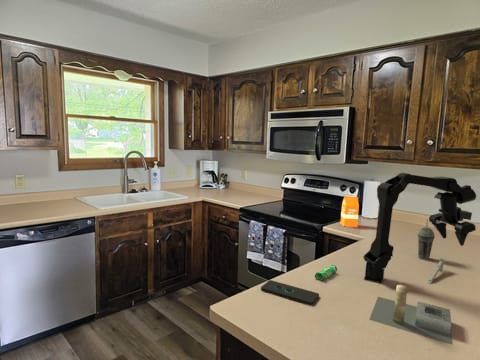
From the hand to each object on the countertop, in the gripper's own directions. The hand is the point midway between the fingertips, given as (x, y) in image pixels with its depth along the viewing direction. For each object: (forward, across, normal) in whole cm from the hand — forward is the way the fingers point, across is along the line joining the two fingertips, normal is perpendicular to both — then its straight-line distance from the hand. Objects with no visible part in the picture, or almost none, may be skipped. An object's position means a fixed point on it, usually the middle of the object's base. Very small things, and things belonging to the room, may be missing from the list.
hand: (453, 241), depth 134 cm
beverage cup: (+16, +21, 0) cm, 26 cm away
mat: (+5, -29, +41) cm, 50 cm away
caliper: (+14, +1, +10) cm, 17 cm away
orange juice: (+14, +80, +10) cm, 82 cm away
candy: (+2, +4, +56) cm, 56 cm away
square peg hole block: (+6, -33, +36) cm, 49 cm away
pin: (+4, -31, +46) cm, 56 cm away
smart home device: (-3, -10, +75) cm, 76 cm away
